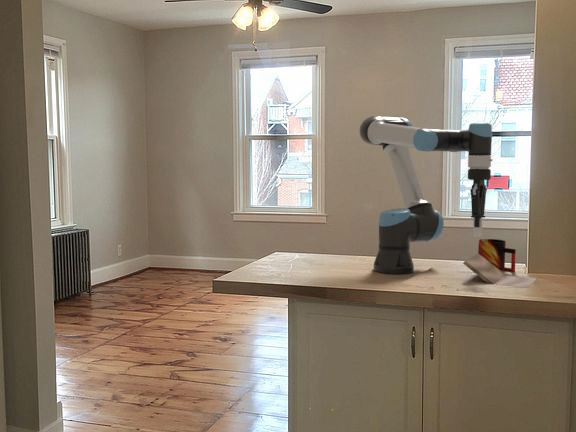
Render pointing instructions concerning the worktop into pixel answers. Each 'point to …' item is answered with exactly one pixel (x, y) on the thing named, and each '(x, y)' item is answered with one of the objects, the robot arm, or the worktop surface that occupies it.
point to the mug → (496, 253)
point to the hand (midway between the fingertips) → (477, 236)
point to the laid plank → (516, 281)
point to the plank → (484, 269)
